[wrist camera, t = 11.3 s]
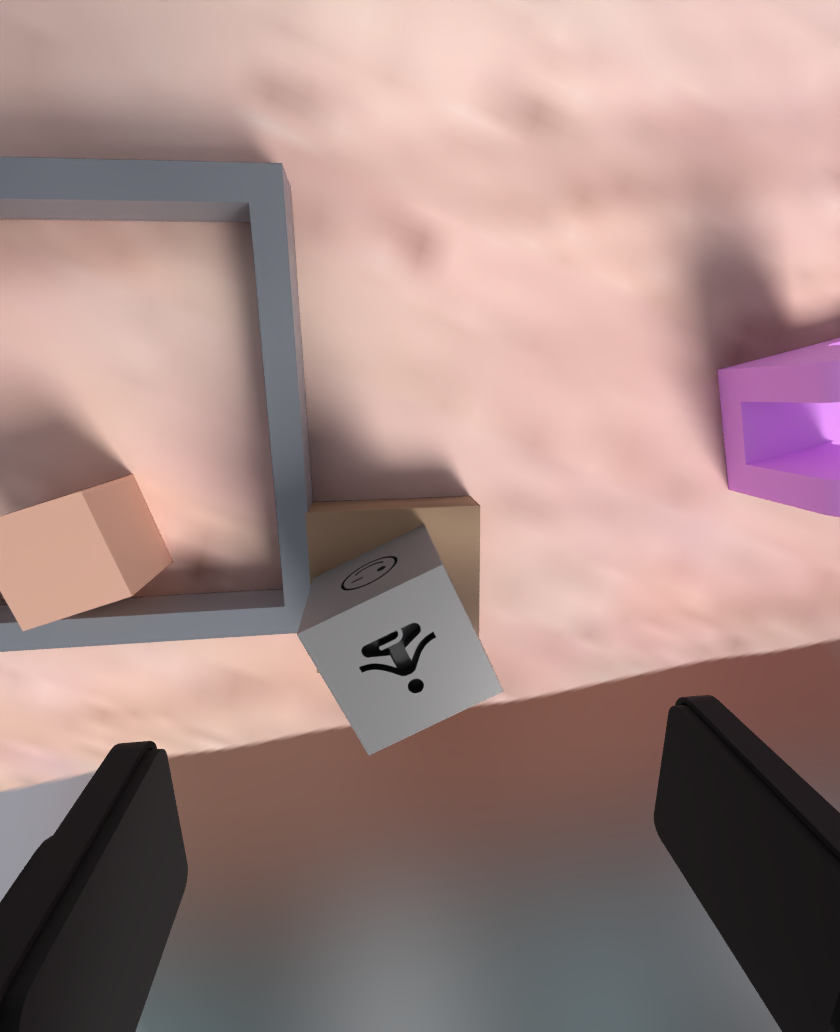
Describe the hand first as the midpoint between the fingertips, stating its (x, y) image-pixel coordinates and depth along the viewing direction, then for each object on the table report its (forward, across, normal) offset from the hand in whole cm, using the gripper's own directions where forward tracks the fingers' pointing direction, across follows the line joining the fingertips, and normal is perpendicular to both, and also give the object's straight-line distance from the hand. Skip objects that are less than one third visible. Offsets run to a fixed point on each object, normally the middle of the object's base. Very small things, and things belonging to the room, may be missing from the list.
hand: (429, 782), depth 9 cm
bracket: (+14, -22, -6) cm, 27 cm away
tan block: (+14, 0, +2) cm, 14 cm away
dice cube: (+12, 0, +2) cm, 12 cm away
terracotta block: (+14, +12, -1) cm, 18 cm away
